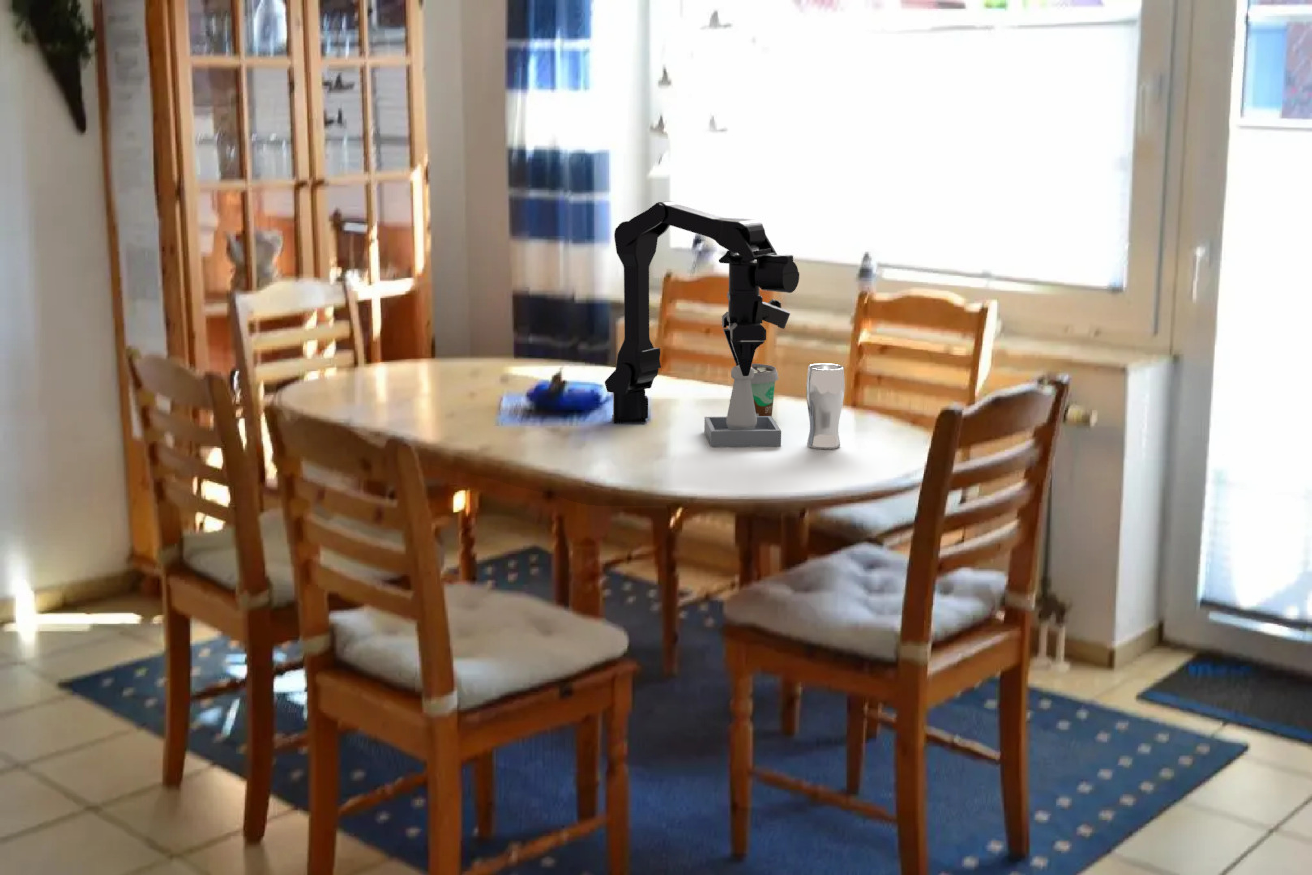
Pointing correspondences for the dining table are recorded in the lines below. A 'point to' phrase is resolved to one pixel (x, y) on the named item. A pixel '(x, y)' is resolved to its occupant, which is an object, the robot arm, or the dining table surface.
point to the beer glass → (824, 404)
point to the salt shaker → (741, 402)
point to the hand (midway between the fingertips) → (742, 371)
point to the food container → (763, 388)
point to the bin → (742, 433)
